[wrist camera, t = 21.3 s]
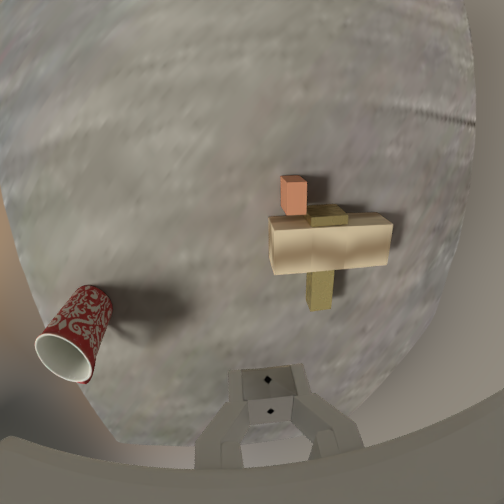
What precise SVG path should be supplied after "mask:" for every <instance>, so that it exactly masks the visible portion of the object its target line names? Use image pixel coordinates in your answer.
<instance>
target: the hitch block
mask: <svg viewBox="0 0 504 504" xmlns="http://www.w3.org/2000/svg"><path fill="white" fill-rule="evenodd" d="M347 214H348V224H344V225H330V226H317V227H311V226H310V225H309V223H308V222H307V221H306V219H305V218H304V217H303V215H292V216H273V217H268V221H269V259H270V262H271V265H272V269H273V272H274V275H282V274H294V273H306V272H317V271H329V270H339V269H350V268H360V267H370V266H380V265H387V261H388V255H389V249H390V243H391V237H392V230H393V224H392V223H391V222H389V221H388V220H387V219H385V218H384V217H383V216H381V215H380V214H378V213H377V212H367V213H347Z"/></svg>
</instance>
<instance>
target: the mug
mask: <svg viewBox="0 0 504 504" xmlns="http://www.w3.org/2000/svg"><path fill="white" fill-rule="evenodd" d="M112 312H113V307H112V303H111V301H110V299H109V298H108V296H107V295H106V294H105V293H104V292H103V291H101V290H100V289H98V288H96V287H94V286H89V285H86V286H82V287H80V288H78V289H77V290H76V291H75V293H74V294H73V295H72V296H71V298H70V299H69V300H68V301H67V302H66V304H65V305H64V306H63V307H62V308H61V310H60V311H59V312H58V313H57V315H56V316H55V317H54V318H53V320H52V321H51V322H50V323H49V325H48V326H47V327H46V329H45V330H44V331H43V333H42V334H40V335H39V336H38V337H37V338H36V340H35V349H36V352H37V355H38V356H39V358H40V360H41V361H42V362H43V364H44V365H45V366H46V367H47V368H48V369H49V370H50V371H52V372H53V373H55V374H56V375H57V376H60V377H62V378H63V379H66V380H69V381H74V382H78V383H81V384H87V383H88V382H89V381H90V380H91V378H92V375H93V372H94V367H95V361H96V356H97V353H98V350H99V347H100V344H101V342H102V339H103V336H104V334H105V331H106V328H107V326H108V323H109V321H110V318H111V315H112Z"/></svg>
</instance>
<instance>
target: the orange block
mask: <svg viewBox="0 0 504 504" xmlns="http://www.w3.org/2000/svg"><path fill="white" fill-rule="evenodd" d="M281 207H282V208H283V210H284V212H285V213H286V215H306V211H307V181H305V180H304V179H303V178H302V177H300V176H299V175H293V176H281Z"/></svg>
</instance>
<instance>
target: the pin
mask: <svg viewBox="0 0 504 504" xmlns="http://www.w3.org/2000/svg"><path fill="white" fill-rule="evenodd" d="M303 217H304V218H305V219H306V221H307V222H308V223H309V225H310V226H311V227H317V226H330V225H344V224H348V214H347V213H345V212H344V211H343V210H342V209H341V208H340V207H339V206H337V205H336V204H325V205H309V206H307V211H306V215H303ZM333 282H334V270H329V271H317V272H307V279H306V302H307V304H308V307H309V309H310V312H311V311H318V310H326V309H331V303H332V293H333Z"/></svg>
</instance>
